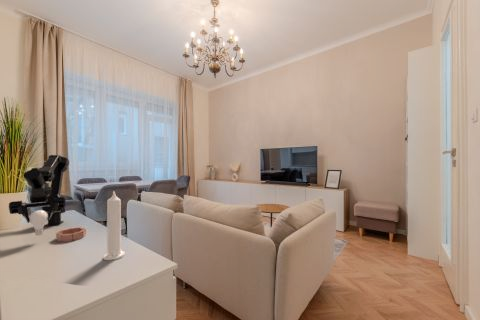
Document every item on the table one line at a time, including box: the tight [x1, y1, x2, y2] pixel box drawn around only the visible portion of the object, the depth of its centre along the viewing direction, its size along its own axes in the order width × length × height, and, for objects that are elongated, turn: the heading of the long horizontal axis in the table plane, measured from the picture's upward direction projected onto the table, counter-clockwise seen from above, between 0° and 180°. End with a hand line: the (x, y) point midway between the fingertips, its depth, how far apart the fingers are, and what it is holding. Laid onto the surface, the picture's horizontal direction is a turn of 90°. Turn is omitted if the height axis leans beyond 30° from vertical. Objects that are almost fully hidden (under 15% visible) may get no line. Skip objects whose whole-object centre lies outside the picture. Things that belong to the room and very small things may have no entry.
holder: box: [55, 226, 87, 243], centre depth 104 cm, size 10×10×3 cm
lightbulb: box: [29, 209, 48, 236], centre depth 97 cm, size 6×6×11 cm
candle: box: [103, 190, 125, 261], centre depth 84 cm, size 7×7×25 cm
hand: (38, 220), depth 96 cm, fingers closed on lightbulb, 6 cm apart
